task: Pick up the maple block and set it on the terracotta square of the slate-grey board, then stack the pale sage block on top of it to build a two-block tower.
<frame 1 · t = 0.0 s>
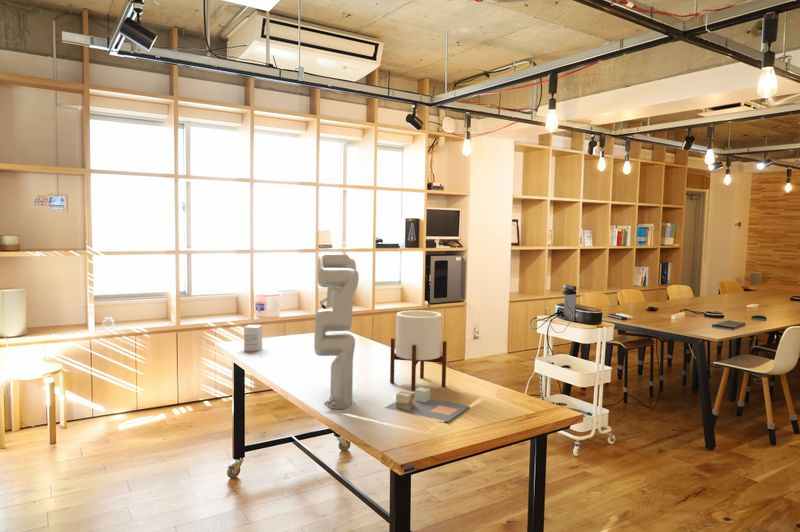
hand: (336, 317, 281), 31 cm above the table, tool pointing down, fingers open, 9 cm apart
plant pot with stand: (417, 385, 272), on the table
supplement box: (253, 349, 342), on the table
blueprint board: (427, 409, 235), on the table
maple block: (405, 406, 235), point 1 cm above the table, touching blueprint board
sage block: (422, 400, 244), point 1 cm above the table, touching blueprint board
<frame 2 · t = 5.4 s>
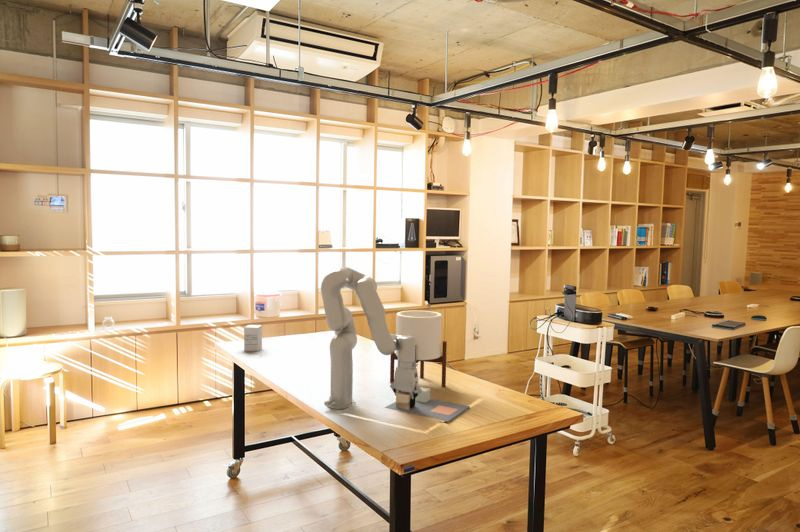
hand: (405, 405, 235), 2 cm above the table, tool pointing down, fingers closed on maple block, 6 cm apart
maple block: (405, 406, 235), point 1 cm above the table, touching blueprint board, gripper
everything else where it was.
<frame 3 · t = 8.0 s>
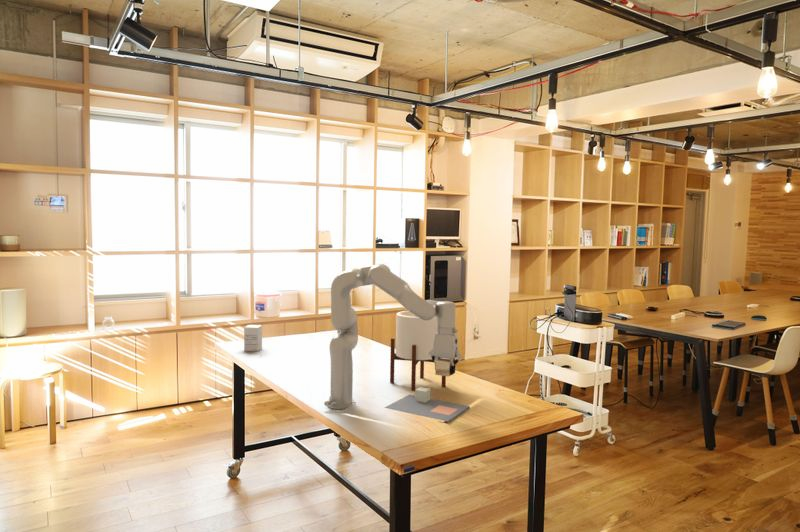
hand: (444, 372, 230), 17 cm above the table, tool pointing down, fingers closed on maple block, 6 cm apart
maple block: (444, 373, 230), point 17 cm above the table, touching gripper
everything else where it was.
when the fingers open (3 cm above the table, at t = 11.0 s): maple block drops 1 cm, resting on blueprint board.
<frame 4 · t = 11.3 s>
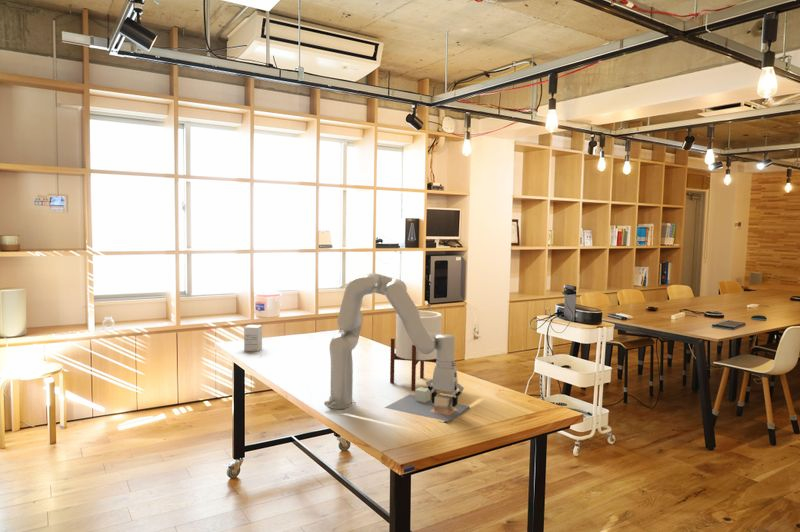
hand: (444, 403, 231), 4 cm above the table, tool pointing down, fingers open, 9 cm apart
maple block: (443, 410, 231), point 1 cm above the table, touching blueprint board
everything else where it was.
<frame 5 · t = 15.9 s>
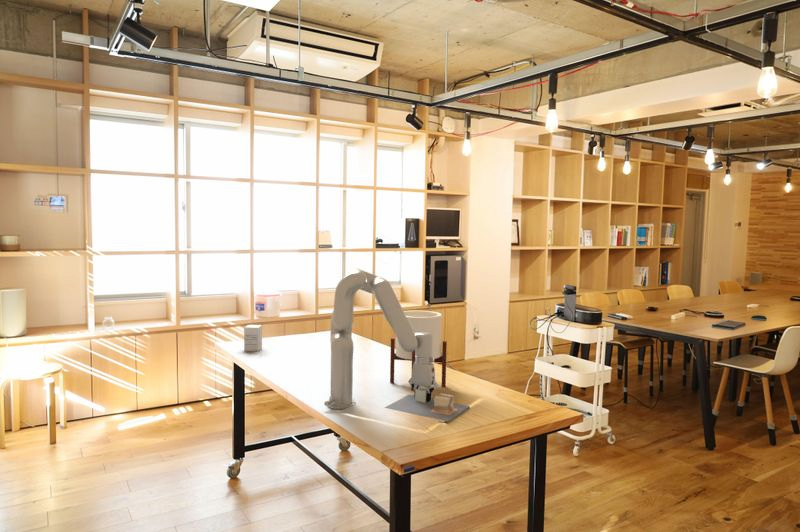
hand: (422, 399, 244), 1 cm above the table, tool pointing down, fingers closed on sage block, 4 cm apart
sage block: (422, 400, 244), point 1 cm above the table, touching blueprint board, gripper
everything else where it was.
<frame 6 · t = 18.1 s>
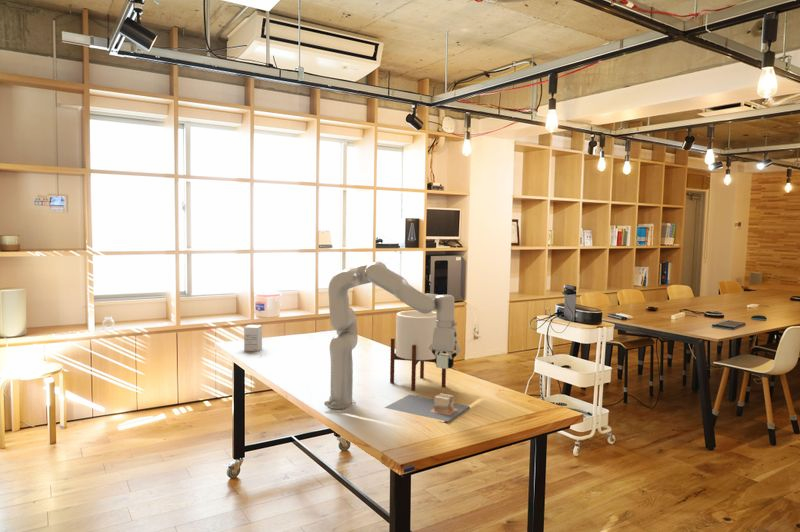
hand: (444, 366, 231), 20 cm above the table, tool pointing down, fingers closed on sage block, 4 cm apart
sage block: (444, 366, 231), point 20 cm above the table, touching gripper
everything else where it was.
when the fingers open (8 cm above the table, at t = 20.6 s): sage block drops 1 cm, resting on maple block.
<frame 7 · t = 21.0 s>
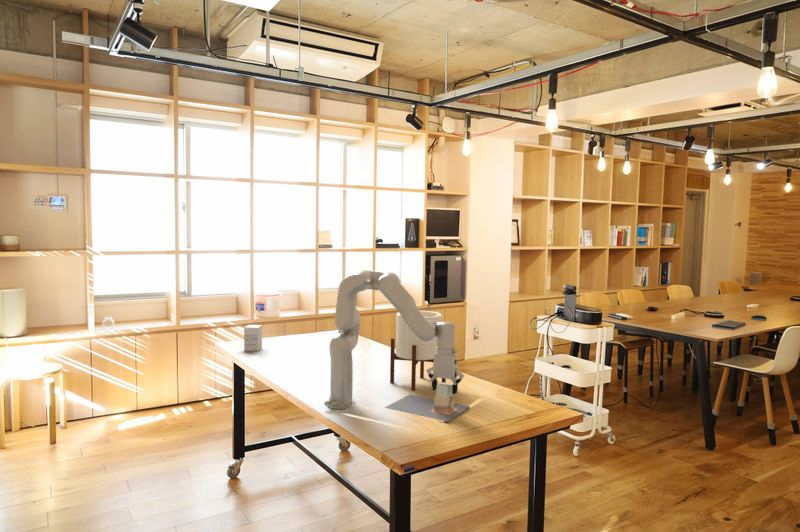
hand: (444, 391, 231), 9 cm above the table, tool pointing down, fingers open, 8 cm apart
maple block: (443, 410, 231), point 1 cm above the table, touching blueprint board, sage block
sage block: (444, 396, 231), point 7 cm above the table, touching maple block
everything else where it was.
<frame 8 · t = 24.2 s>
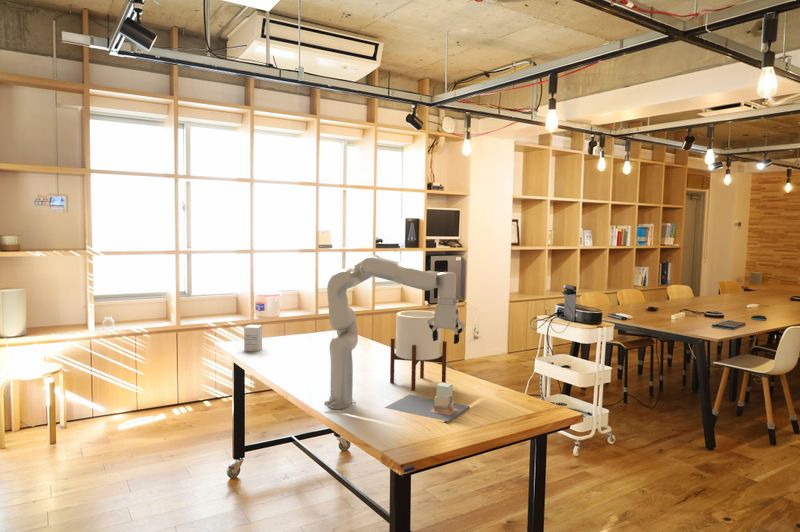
hand: (445, 342, 229), 30 cm above the table, tool pointing down, fingers open, 9 cm apart
nothing on the table moved.
at the end: maple block inside the target area on the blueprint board (0.1 cm from its centre), point 1.0 cm above the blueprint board's base; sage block 0.1 cm off-centre on the maple block, point 6.0 cm above the maple block's base; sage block tilted 0° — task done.
